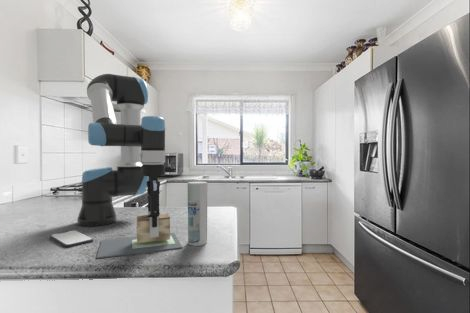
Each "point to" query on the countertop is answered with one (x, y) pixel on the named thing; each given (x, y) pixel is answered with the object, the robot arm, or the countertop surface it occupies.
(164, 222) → the box
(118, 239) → the mat
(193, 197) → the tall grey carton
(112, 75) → the robot arm
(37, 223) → the countertop surface
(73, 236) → the phone case
